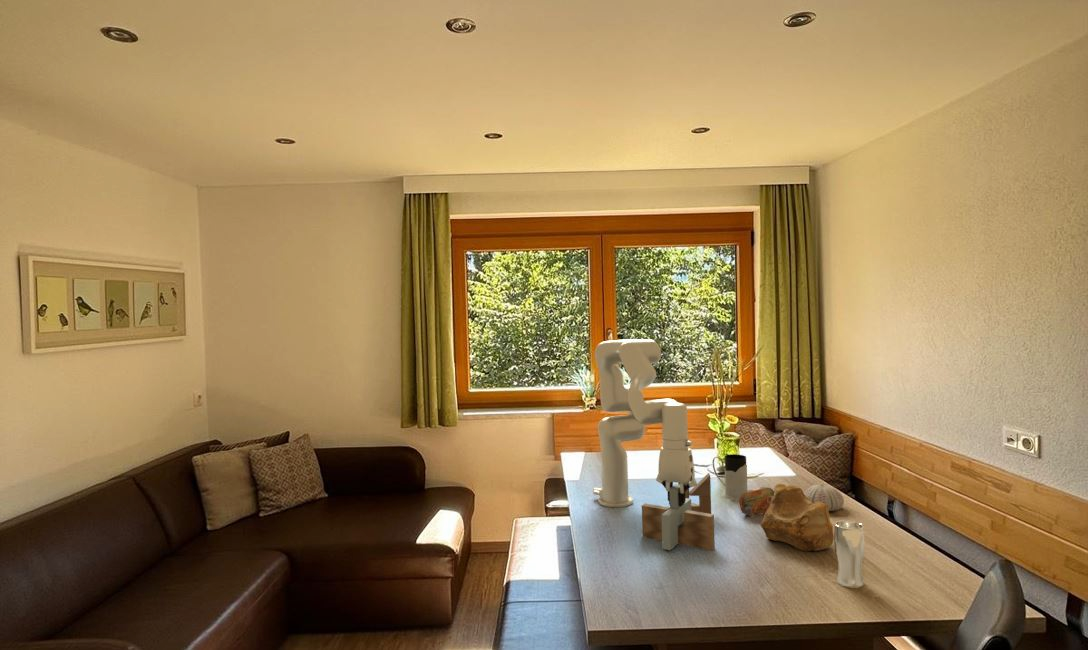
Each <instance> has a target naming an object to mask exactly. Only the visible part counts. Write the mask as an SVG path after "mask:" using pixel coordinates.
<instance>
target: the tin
mask: <svg viewBox="0 0 1088 650" xmlns="http://www.w3.org/2000/svg"><path fill="white" fill-rule="evenodd" d="M773 496H774V490H773V489H772V488H771V487H766V486H760V487H756V488H752V489H747V491H745V492H744V493H743V494H742V495H741V497H740V501H739V509H740V511H741V512H742V513H743V514H744V515H747V516H749V517H755V516H759V515H763V514H764V515H765V513H766V511H767V509H768V508H769V506H770V503H771V501H772V499H773Z"/></svg>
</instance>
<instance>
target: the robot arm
mask: <svg viewBox="0 0 1088 650" xmlns="http://www.w3.org/2000/svg"><path fill="white" fill-rule="evenodd" d="M661 357H662V351H661V347H660V345H659V344H658V343H657V341H655V340H653V339H640V338H635V339H633V338H631V339H617V340H616V339H615V340H614V339H613V340H606V341H602V342H600V343H598V344H597V346H596V348H595V351H594V359H595V364H596V367H597V371H598V374H599V375H598V376H599V392H600V393H599V394H600V405H601V406H600V407H601V408H602V410H603V412H605V413H608V414H609V413H625V412H626V413H628V414H623V415H614V416H613V415H612V416H607V417H604V418H602V419H600V420H599V422H598V424H597V434H598V438H599V443H600V458H601V488H599V487H594V488H593V495H596V496H597V495H598V496H599V497H598V499H597V501H598V504H599V505H602V506H603V507H609V508H624V507H628V506H631V505H632V504H634V503H633V501H634V499H633V497H632V496H630V495H629V474H628V473H629V472H628V469H629V467H628V466H629V465H628V453H627V450H626V449H625V448H624V447H623V446H622V443H624V442H633V441H639V440H642V439H643V437H644V435H645V432H646V425H647V426H648V425H658V424H661V430H662V433H661V436H662V446H661V447H660V452H659V457H658V474H657V475H656V476H657V477H656V478H655V480H656V482H657V483H659V484H661V485H662V486H663V488H664V489H665V491H666V492H667V502H668V505H669V506H670V492H669V488H671V487H672V486H674V483H677V484H678V483H679V485H680V493H679V494H678V496H679V506H682V505H684V503H685V502H686V495H685V491H687V490H688V489H689V490H690V489H692V488H694V487H695V486H696V485H697V484H698V483H697V481H696V478H695V463H694V458H693V452H692V448H690V447H693V441H690V440H689V437H688V435H689V433H688V428H689V427H688V408H687V405H686V404H685V403H683V402H678V401H677V400H675V399H672V398H660V399H658V398H657V399H656V398H655V399H646V400H644V399H645V398H644V394H643V391H642V390H644V389H645V388H647V387H649V386H650V385H651V384H653V382H654V381H655V380H656V378H657V372H656V370H655V368H654V366H653V365H654V364H657V363H658V362H659V361H660V359H661ZM618 364H622V366H623V367H624V369H625V371H626V373H627V375H628V377H629V379H630V381H631V383H630V385H629V384H628V385H624V375H623V371H622V370H621V369H620V367H619V365H618ZM652 364H653V365H652ZM687 483H688V484H687Z"/></svg>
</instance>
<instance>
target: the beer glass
mask: <svg viewBox="0 0 1088 650" xmlns="http://www.w3.org/2000/svg"><path fill="white" fill-rule="evenodd" d="M833 536H834V539H833V543H834V548H835V549H834V550H835V555H836V556H835V557H836V560H837V561H836V562H837V566H838V568H837V577H836V582H837V583H838V584H839V585H840V586H842V587H845V588H851V589H859V588H862V587H863V586H864V581H863V576H862V575H863V574H862V566H863V560H864V555H865V548H866V547H865V546H866V545H865V544H866V543H865V532H864V525H863V524H862V523H860V522H857V521H853V520H843V519H842V520H837V521H835V523H834V530H833Z"/></svg>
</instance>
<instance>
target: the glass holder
mask: <svg viewBox="0 0 1088 650" xmlns="http://www.w3.org/2000/svg"><path fill="white" fill-rule="evenodd" d="M717 458H718V459H719V460H720V462H721V467H722V469H723V470H724V481H723V480H722V479H721V477H720V476H719V475H718V473H717V471H716V467H715V459H717ZM724 463H725V464H724ZM724 465H725V466H724ZM712 469H713V471H714V474H715V476H716V478H717V479H718V480H719V481H720V483H721V484H722V485H723V486H724V487H725V489H724V490H725V493H724V497H723V498H725V499H727V500H729V501H739V502H740V497H741V495H742V494H743V493H744V492H745V491H747V490H748V465H747V456H745V455H743V454H735V453H734V454H731V453H730V454H726V455H725V456H724V460H723V459H722V457H720V456H714V457H713V459H712Z"/></svg>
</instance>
